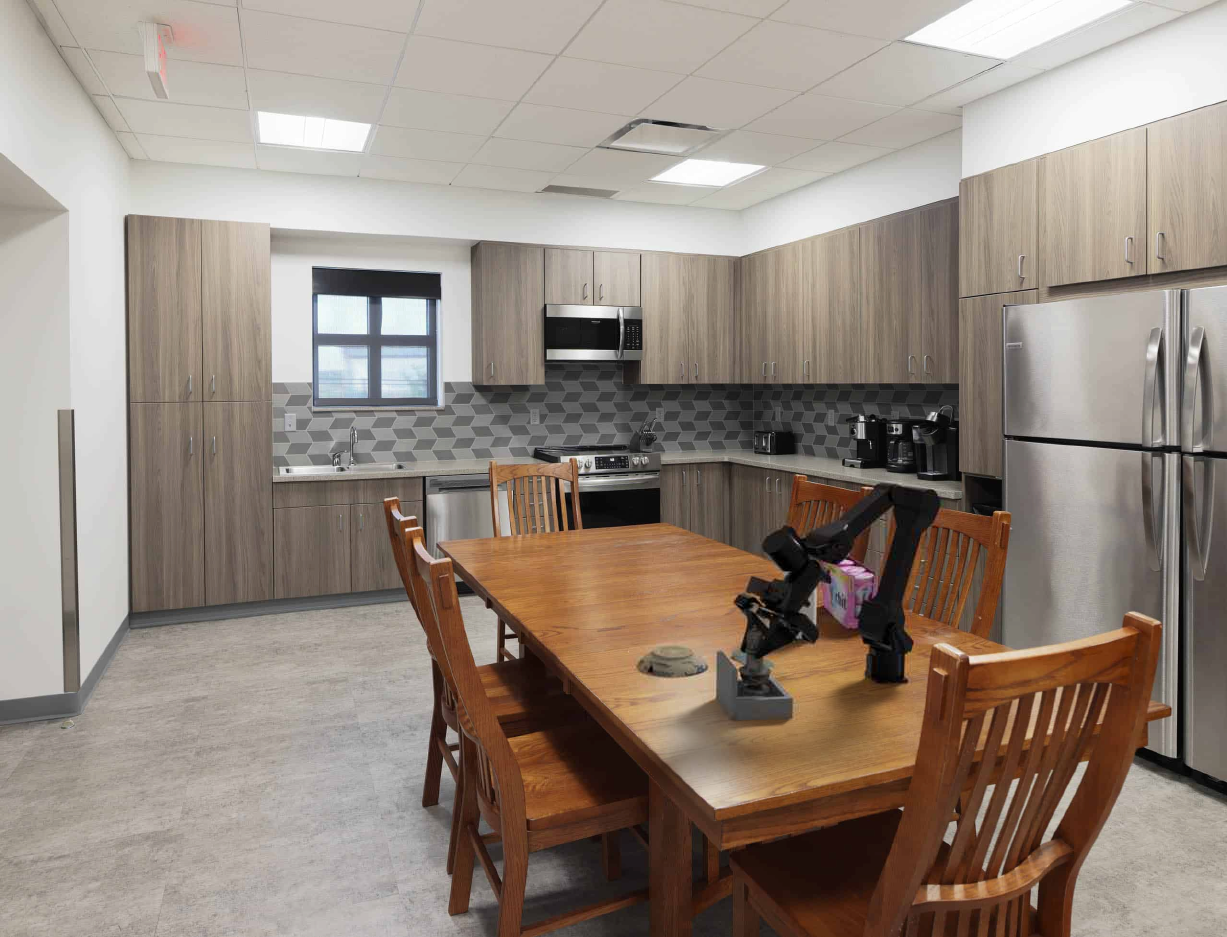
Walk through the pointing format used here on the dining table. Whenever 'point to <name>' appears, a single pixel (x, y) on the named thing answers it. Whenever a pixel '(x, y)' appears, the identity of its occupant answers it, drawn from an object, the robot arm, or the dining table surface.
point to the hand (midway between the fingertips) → (748, 654)
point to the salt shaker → (754, 666)
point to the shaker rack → (749, 695)
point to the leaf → (742, 659)
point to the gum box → (848, 590)
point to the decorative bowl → (673, 662)
